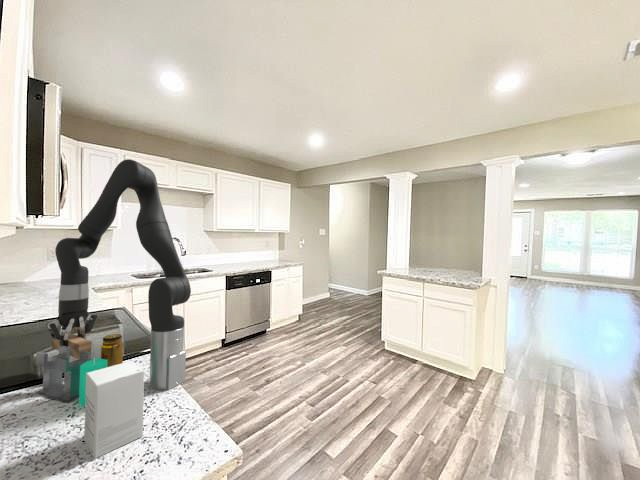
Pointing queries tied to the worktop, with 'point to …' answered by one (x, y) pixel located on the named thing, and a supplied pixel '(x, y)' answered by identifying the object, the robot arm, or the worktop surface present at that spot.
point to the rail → (74, 345)
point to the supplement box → (113, 407)
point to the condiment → (112, 349)
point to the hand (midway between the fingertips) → (72, 348)
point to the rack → (54, 374)
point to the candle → (84, 369)
